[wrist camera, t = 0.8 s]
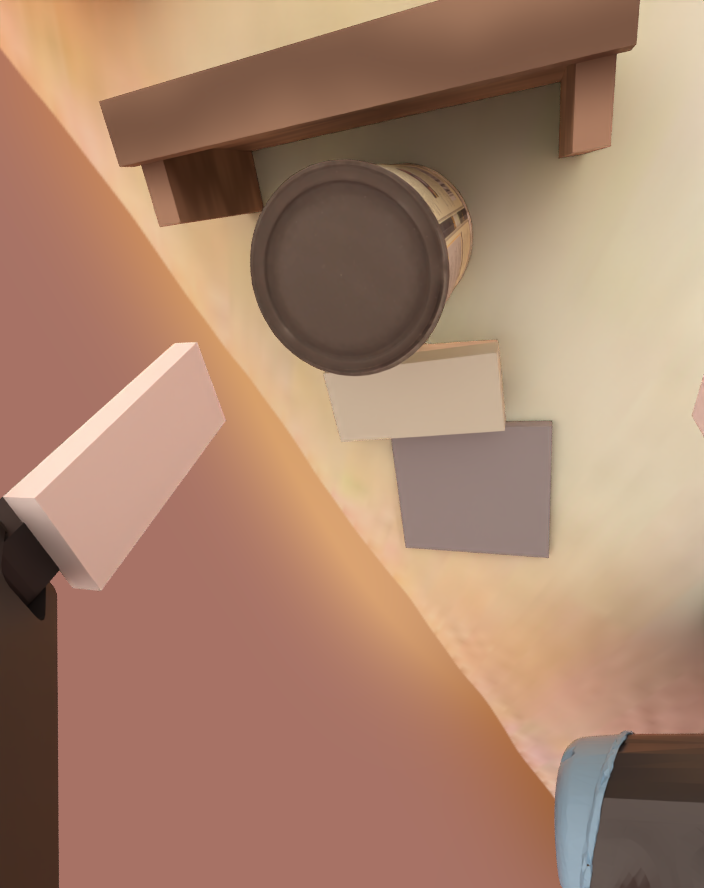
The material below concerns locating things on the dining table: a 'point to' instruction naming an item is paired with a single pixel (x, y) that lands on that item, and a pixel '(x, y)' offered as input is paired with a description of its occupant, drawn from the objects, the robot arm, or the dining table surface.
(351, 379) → the upper offcut
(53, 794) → the robot arm
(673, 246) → the dining table surface
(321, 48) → the walnut rack
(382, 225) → the coffee can
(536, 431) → the slate mat
